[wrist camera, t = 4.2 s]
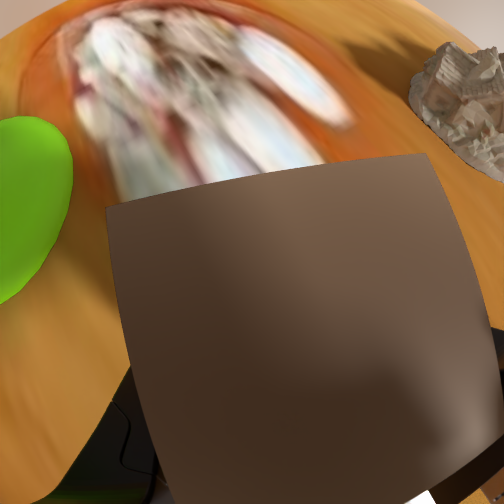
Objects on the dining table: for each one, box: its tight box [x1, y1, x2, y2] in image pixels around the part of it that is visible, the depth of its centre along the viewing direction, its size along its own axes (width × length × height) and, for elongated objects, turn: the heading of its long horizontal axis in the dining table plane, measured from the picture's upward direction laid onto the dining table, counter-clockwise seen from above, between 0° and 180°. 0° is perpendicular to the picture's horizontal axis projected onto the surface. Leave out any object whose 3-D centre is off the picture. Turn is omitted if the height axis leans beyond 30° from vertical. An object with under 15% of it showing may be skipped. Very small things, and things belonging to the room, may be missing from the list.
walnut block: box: [105, 153, 504, 504], centre depth 9 cm, size 4×4×13 cm
